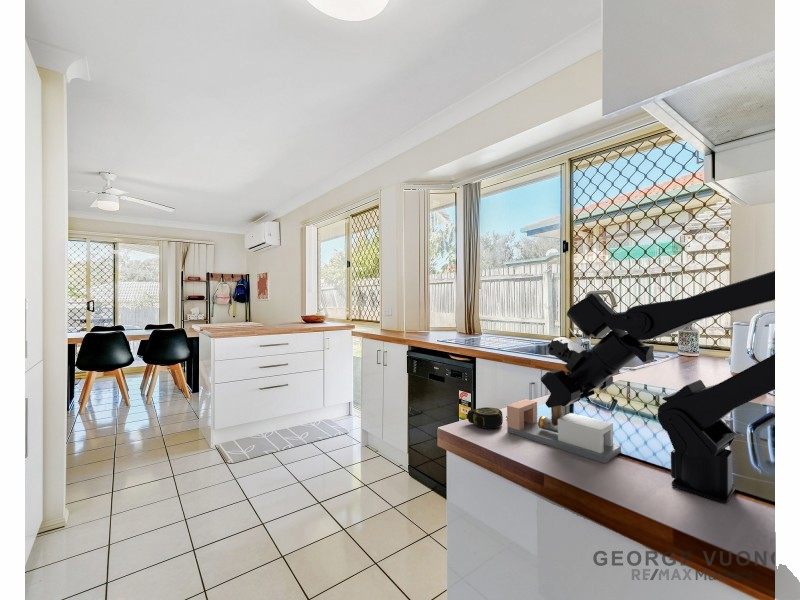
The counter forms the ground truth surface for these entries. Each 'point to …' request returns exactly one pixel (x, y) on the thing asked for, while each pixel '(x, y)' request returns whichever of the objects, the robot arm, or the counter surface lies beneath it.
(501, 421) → the tape measure
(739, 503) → the counter surface
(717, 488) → the robot arm
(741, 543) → the counter surface
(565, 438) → the tube rig
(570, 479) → the counter surface
